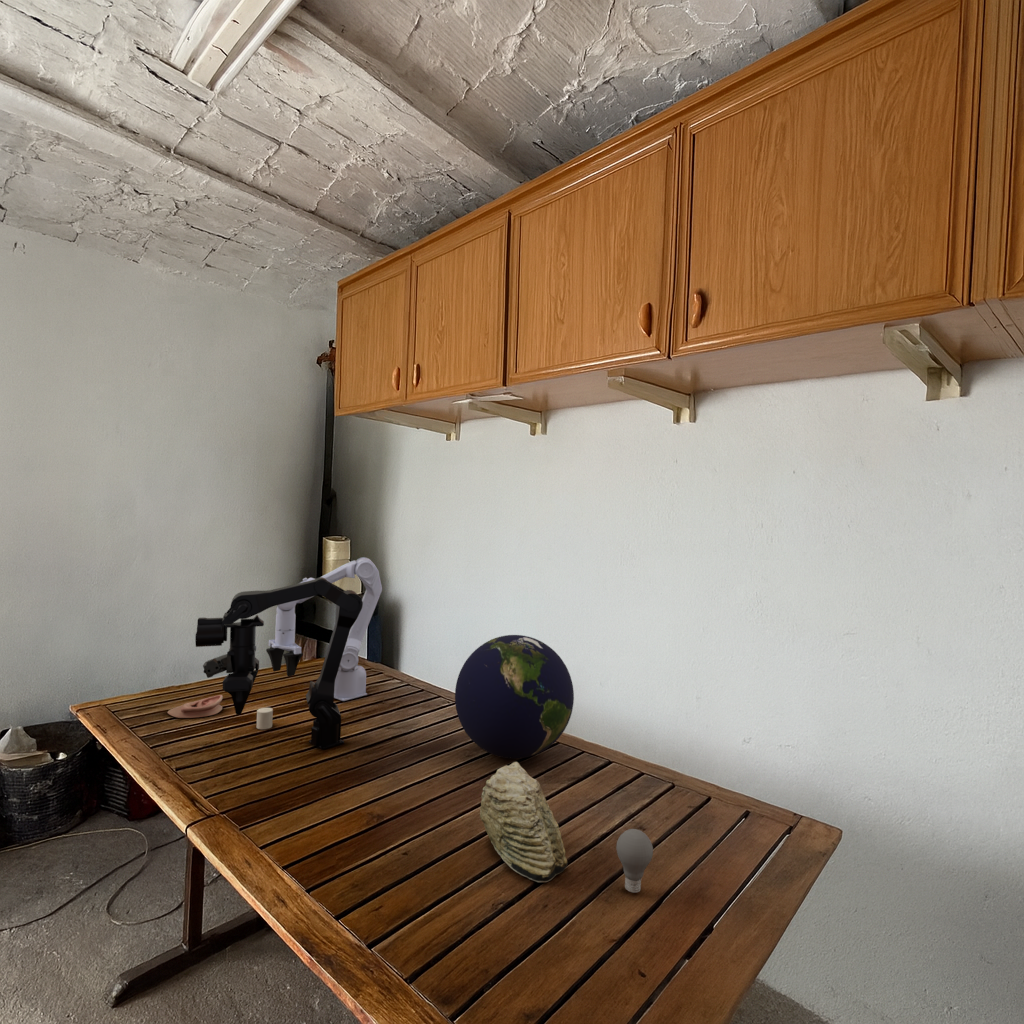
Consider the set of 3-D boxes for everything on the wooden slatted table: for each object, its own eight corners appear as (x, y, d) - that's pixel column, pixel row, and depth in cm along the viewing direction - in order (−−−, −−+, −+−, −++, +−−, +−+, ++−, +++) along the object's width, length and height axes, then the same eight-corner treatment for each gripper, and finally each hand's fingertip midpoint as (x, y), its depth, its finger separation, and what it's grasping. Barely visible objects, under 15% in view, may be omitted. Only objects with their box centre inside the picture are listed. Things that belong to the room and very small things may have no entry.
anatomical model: (160, 701, 176) (189, 689, 187) (159, 715, 176) (188, 703, 187) (202, 706, 173) (229, 694, 185) (201, 721, 173) (228, 708, 185)
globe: (500, 724, 181) (504, 620, 180) (592, 752, 164) (597, 636, 163) (427, 755, 157) (432, 635, 156) (526, 792, 139) (533, 657, 139)
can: (256, 724, 173) (257, 708, 173) (272, 723, 174) (272, 706, 174) (256, 730, 169) (257, 712, 169) (272, 728, 171) (273, 711, 171)
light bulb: (610, 879, 108) (613, 822, 108) (644, 879, 109) (647, 822, 109) (619, 902, 102) (622, 840, 102) (655, 901, 103) (658, 840, 103)
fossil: (501, 827, 124) (504, 751, 124) (575, 868, 111) (578, 784, 111) (467, 843, 118) (470, 763, 118) (541, 889, 105) (545, 799, 105)
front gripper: (213, 637, 161) (211, 698, 161) (199, 655, 143) (197, 723, 143) (260, 635, 164) (258, 695, 164) (252, 653, 146) (250, 720, 146)
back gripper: (260, 627, 196) (258, 670, 196) (287, 634, 187) (285, 680, 187) (280, 624, 201) (279, 666, 202) (307, 631, 193) (306, 676, 193)
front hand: (241, 708), depth 155 cm, fingers open, 9 cm apart
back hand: (283, 673), depth 195 cm, fingers open, 7 cm apart
